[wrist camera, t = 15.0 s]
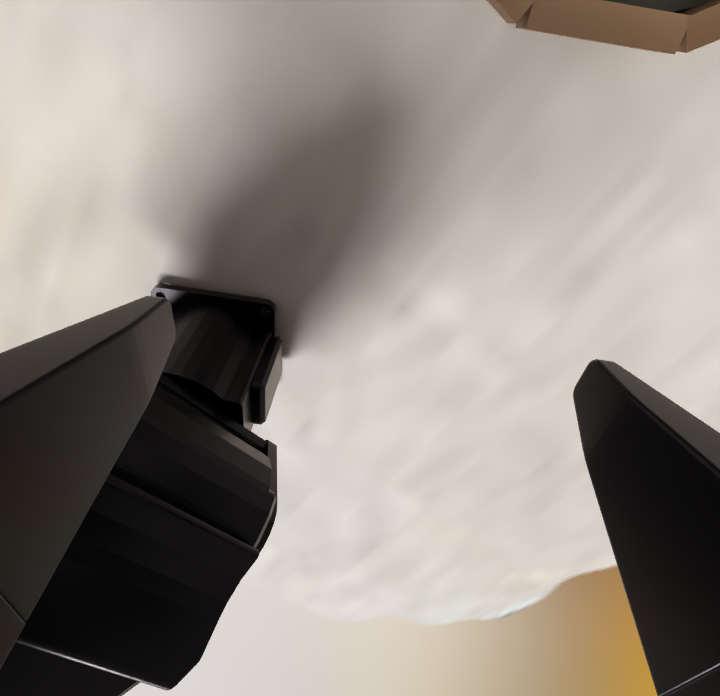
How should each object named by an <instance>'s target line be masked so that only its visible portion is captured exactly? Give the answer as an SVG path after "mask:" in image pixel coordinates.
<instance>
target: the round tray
mask: <svg viewBox="0 0 720 696" xmlns="http://www.w3.org/2000/svg"><path fill="white" fill-rule="evenodd" d="M487 1H488V2H489V3H490V4H491V5H492V6H493V7H494V9H495V10H496V11H497V12H498V13H499V14H500V15H501V17H502V18H503V19H504V20H505V21H506V22H507V23H517V24H516V28H520V29H526V30H532V31H538V32H544V33H549V34H555V35H561V36H567V37H573V38H579V39H585V40H590V41H596V42H602V43H608V44H614V45H620V46H626V47H631V48H637V49H643V50H649V51H655V52H662V53H670V54H675V53H676V51H678V52H686V53H687V52H689V51H692V50H694V49H697V48H699V47H702V46H704V45H707V44H709V43H712V42H714V41H717V40H719V39H720V0H487ZM671 11H676V12H671Z"/></svg>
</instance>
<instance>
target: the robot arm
mask: <svg viewBox="0 0 720 696" xmlns="http://www.w3.org/2000/svg"><path fill="white" fill-rule="evenodd" d="M160 292H162V293H163V294H165V296H162V295H161V294H160ZM263 308H268V309H269V310H270V312H266V311H264V310H263ZM276 316H277V309H276V305H275V304H274V303H273V302H272V301H269V300H265V299H259V298H252V297H245V296H239V295H232V294H226V293H219V292H212V291H206V290H199V289H193V288H186V287H179V286H173V285H166V284H158V285H156V286H155V287H154V288H153V290H152V291H151V296H146V297H143V298H141V299H138V300H136V301H133V302H130V303H128V304H125V305H123V306H120V307H118V308H115V309H112V310H110V311H107V312H105V313H102V314H100V315H97V316H95V317H92V318H89V319H87V320H84V321H82V322H79V323H77V324H74V325H71V326H69V327H66V328H64V329H61V330H59V331H56V332H54V333H51V334H48V335H46V336H43V337H41V338H38V339H36V340H33V341H30V342H28V343H25V344H23V345H20V346H18V347H15V348H13V349H10V350H7V351H5V352H2V353H0V696H122V695H124V694H125V693H126V692H128V691H129V690H130V689H132V688H133V687H134V686H136V685H137V684H139V683H140V682H142V683H145V684H148V685H151V686H155V687H158V688H161V689H164V690H170V689H172V688H173V687H174V686H176V685H177V684H178V683H179V682H180V681H181V680H182V679H183V678H184V677H185V676H186V675H187V674H188V672H189V671H191V669H192V668H193V667H194V666H195V665H196V664H197V663H198V662H199V661H200V659H201V657H202V655H203V653H204V651H205V648H206V646H207V644H208V642H209V640H210V637H211V635H212V633H213V631H214V629H215V627H216V624H217V622H218V620H219V618H220V616H221V614H222V612H223V610H224V608H225V606H226V604H227V602H228V600H229V598H230V597H231V595H232V594H233V592H234V590H235V589H236V587H237V585H238V584H239V582H240V580H241V579H242V578H243V576H244V575H245V574H246V572H247V571H248V570H249V569H250V567H251V566H252V565H253V563H254V562H255V561H256V559H257V558H258V556H259V553H260V551H261V550H262V548H263V547H264V545H265V543H266V541H267V539H268V537H269V535H270V532H271V529H272V527H273V524H274V521H275V517H276V512H277V446H276V445H275V444H273V443H272V442H270V441H269V440H266V441H265V440H263V439H262V438H260V437H259V436H257V435H256V434H254V433H253V432H251V429H252V426H253V424H262V423H264V422H265V421H266V419H267V416H268V413H269V409H270V406H271V403H272V400H273V397H274V394H275V391H276V388H277V385H278V382H279V379H280V376H281V372H282V340H281V339H280V337H278V336H276ZM573 398H574V404H575V409H576V415H577V420H578V426H579V431H580V436H581V442H582V447H583V452H584V456H585V461H586V464H587V468H588V471H589V474H590V478H591V481H592V484H593V487H594V491H595V494H596V497H597V500H598V504H599V507H600V510H601V513H602V517H603V520H604V523H605V526H606V530H607V533H608V536H609V539H610V543H611V546H612V549H613V552H614V556H615V559H616V562H617V565H618V569H619V572H620V575H621V578H622V582H623V585H624V588H625V591H626V594H627V598H628V601H629V604H630V608H631V611H632V614H633V617H634V620H635V624H636V627H637V630H638V634H639V637H640V640H641V643H642V646H643V650H644V653H645V656H646V660H647V663H648V666H649V669H650V672H651V676H652V679H653V682H654V686H655V689H656V692H657V695H658V696H720V433H719V432H717V431H716V430H714V429H713V428H711V427H710V426H708V425H707V424H705V423H704V422H702V421H701V420H699V419H698V418H696V417H695V416H694V415H692V414H691V413H689V412H688V411H686V410H685V409H683V408H682V407H680V406H679V405H677V404H676V403H674V402H673V401H671V400H670V399H668V398H667V397H665V396H664V395H662V394H661V393H659V392H658V391H656V390H655V389H653V388H652V387H650V386H649V385H648V384H646V383H645V382H643V381H642V380H640V379H639V378H637V377H636V376H634V375H633V374H631V373H630V372H628V371H627V370H625V369H624V368H622V367H621V366H619V365H618V364H616V363H615V362H612V361H605V360H598V359H595V360H593V361H591V362H590V363H589V364H588V366H587V367H586V369H585V371H584V372H583V374H582V376H581V378H580V379H579V381H578V383H577V384H576V386H575V389H574V393H573Z"/></svg>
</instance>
